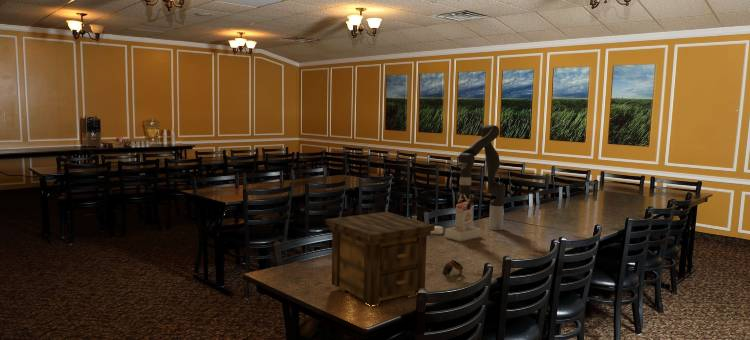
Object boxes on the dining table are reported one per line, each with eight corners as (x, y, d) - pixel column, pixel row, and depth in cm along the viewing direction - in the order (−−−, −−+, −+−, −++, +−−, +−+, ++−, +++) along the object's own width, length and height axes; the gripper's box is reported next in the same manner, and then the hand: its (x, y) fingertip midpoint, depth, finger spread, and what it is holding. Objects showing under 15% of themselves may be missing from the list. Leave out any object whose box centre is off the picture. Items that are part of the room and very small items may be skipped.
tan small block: (436, 231, 363) (436, 225, 362) (445, 233, 356) (445, 227, 356) (428, 232, 358) (428, 226, 357) (436, 234, 351) (437, 229, 351)
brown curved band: (444, 271, 274) (453, 258, 273) (458, 282, 270) (467, 269, 269) (436, 271, 264) (444, 257, 263) (450, 282, 259) (459, 269, 258)
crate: (385, 275, 263) (386, 211, 259) (432, 296, 235) (434, 225, 231) (324, 288, 242) (325, 219, 239) (368, 313, 214) (369, 235, 210)
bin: (445, 237, 344) (445, 228, 343) (466, 233, 357) (466, 225, 356) (459, 241, 334) (460, 232, 334) (480, 237, 347) (481, 228, 347)
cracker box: (462, 237, 338) (464, 205, 335) (454, 235, 341) (455, 204, 339) (471, 233, 349) (473, 202, 347) (463, 231, 353) (464, 201, 350)
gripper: (477, 184, 338) (476, 210, 340) (460, 181, 349) (459, 206, 351) (470, 185, 334) (468, 211, 335) (453, 182, 345) (452, 207, 347)
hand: (464, 208), depth 343 cm, fingers closed on cracker box, 6 cm apart
